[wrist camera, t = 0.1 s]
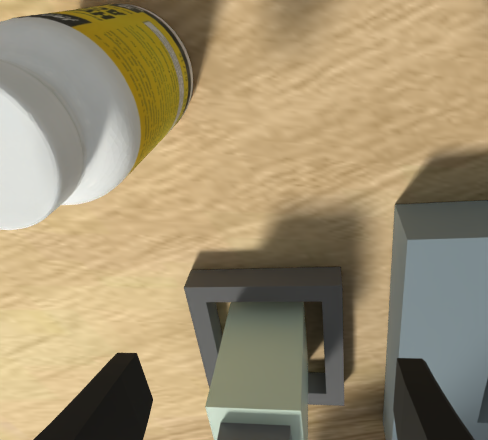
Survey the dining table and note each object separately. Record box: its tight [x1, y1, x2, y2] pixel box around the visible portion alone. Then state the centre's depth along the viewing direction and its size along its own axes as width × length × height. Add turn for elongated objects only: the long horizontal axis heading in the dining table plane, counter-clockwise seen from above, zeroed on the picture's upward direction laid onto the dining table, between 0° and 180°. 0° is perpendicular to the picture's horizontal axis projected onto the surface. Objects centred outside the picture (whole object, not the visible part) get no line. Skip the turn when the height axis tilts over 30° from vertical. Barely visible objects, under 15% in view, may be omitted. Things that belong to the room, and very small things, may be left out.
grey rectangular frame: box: [184, 267, 344, 406], centre depth 24 cm, size 9×8×2 cm
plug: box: [206, 302, 308, 440], centre depth 21 cm, size 5×4×8 cm
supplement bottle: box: [0, 4, 193, 230], centre depth 14 cm, size 5×5×10 cm
